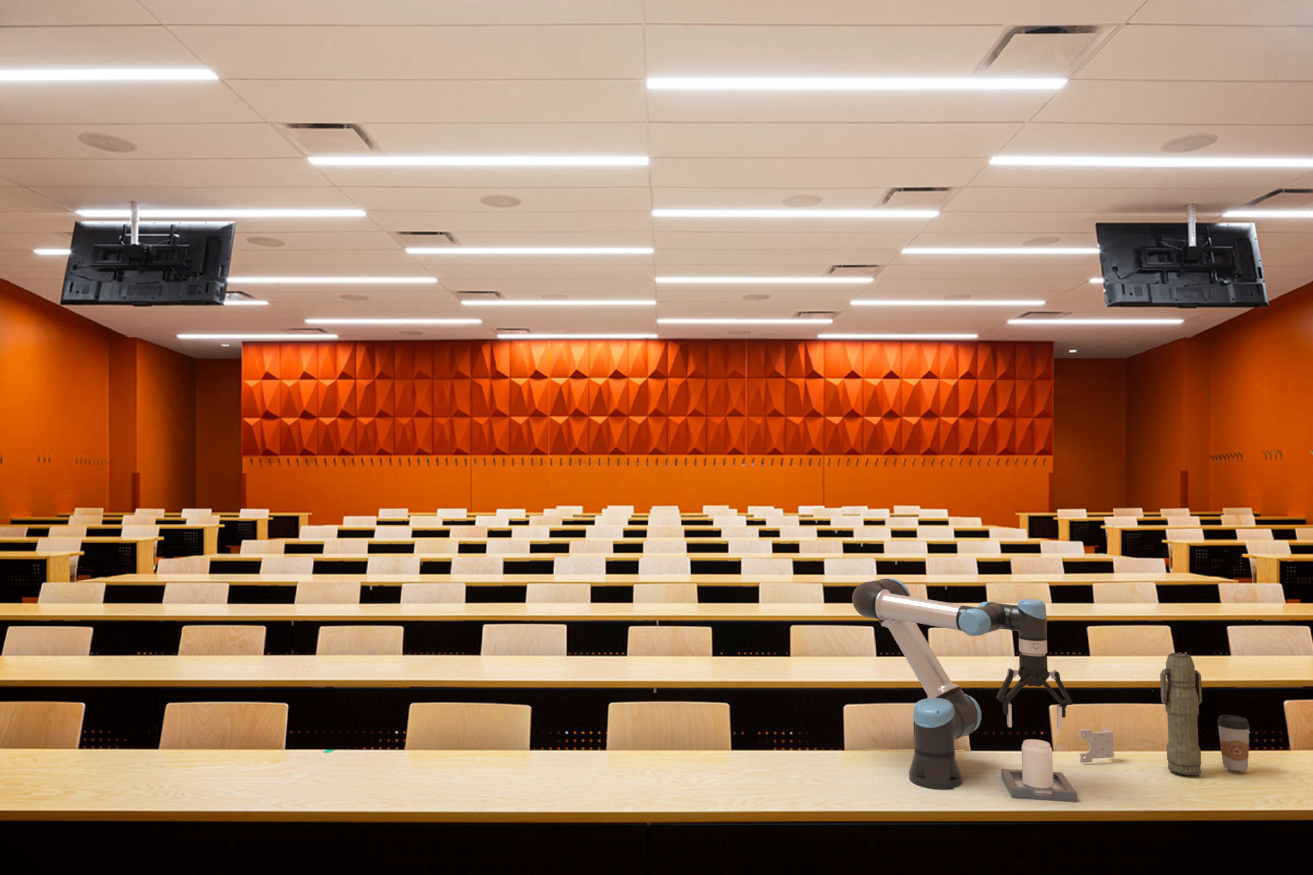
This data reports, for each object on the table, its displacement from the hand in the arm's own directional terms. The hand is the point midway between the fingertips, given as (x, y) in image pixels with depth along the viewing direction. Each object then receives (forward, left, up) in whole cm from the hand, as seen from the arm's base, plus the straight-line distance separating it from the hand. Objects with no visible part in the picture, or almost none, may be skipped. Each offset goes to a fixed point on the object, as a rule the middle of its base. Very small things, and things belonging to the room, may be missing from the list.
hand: (1034, 727), depth 250 cm
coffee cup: (+63, +30, -18) cm, 72 cm away
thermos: (+47, +25, -18) cm, 56 cm away
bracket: (+23, +31, -18) cm, 43 cm away
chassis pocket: (0, 0, -18) cm, 18 cm away
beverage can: (0, 0, -17) cm, 17 cm away
